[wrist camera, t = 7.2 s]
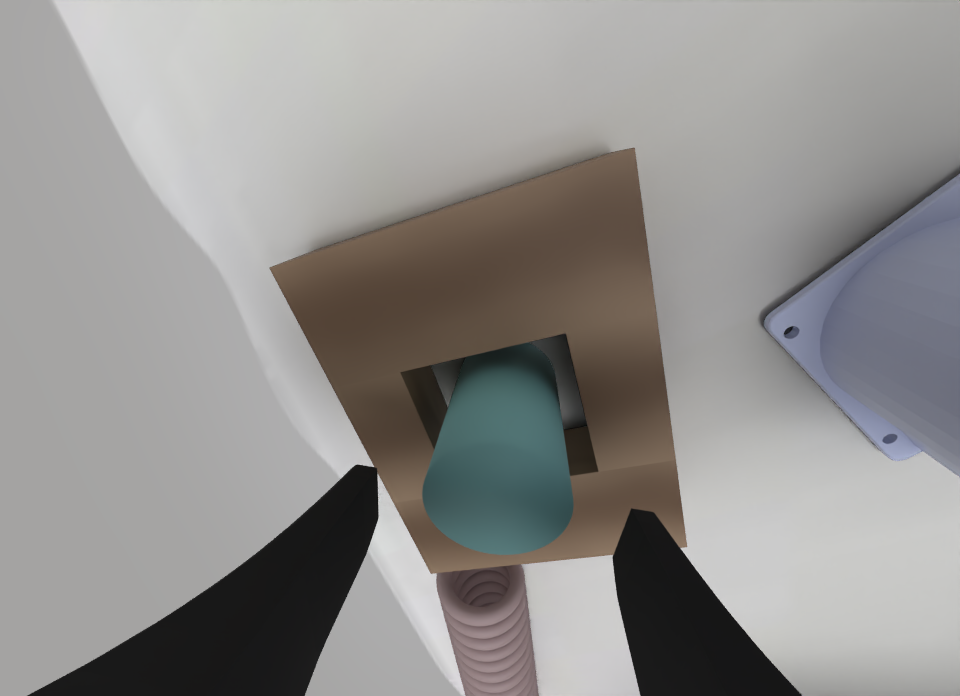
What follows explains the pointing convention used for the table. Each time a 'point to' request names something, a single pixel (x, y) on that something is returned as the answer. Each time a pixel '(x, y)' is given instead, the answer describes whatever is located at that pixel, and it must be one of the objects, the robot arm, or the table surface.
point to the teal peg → (501, 456)
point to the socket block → (503, 341)
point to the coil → (490, 630)
